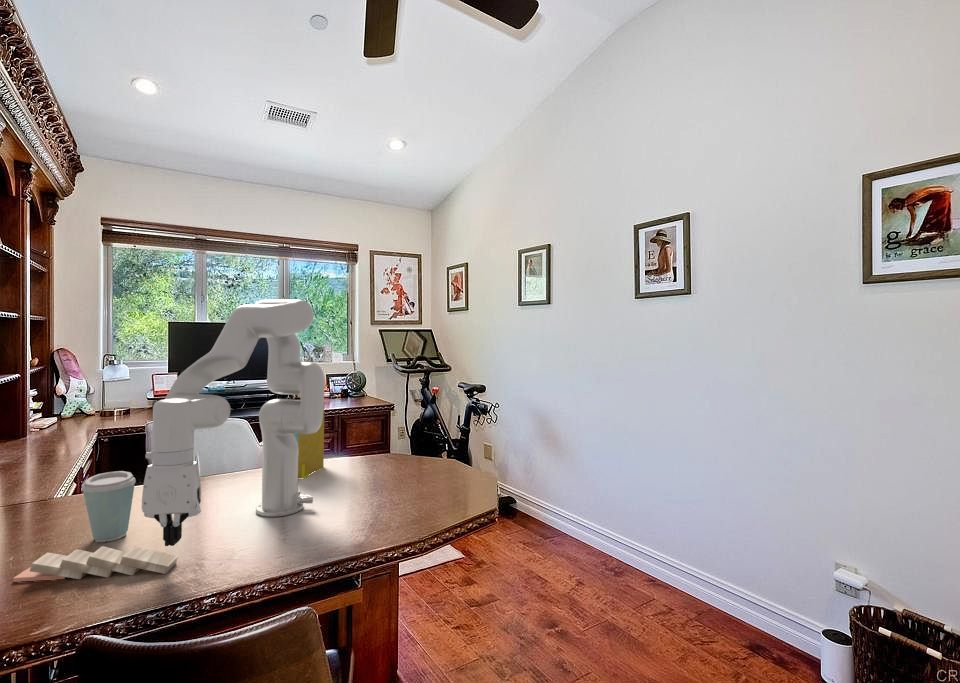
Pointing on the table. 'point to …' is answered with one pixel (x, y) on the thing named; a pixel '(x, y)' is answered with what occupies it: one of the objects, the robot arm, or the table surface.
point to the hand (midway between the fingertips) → (172, 543)
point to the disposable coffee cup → (109, 504)
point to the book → (310, 451)
